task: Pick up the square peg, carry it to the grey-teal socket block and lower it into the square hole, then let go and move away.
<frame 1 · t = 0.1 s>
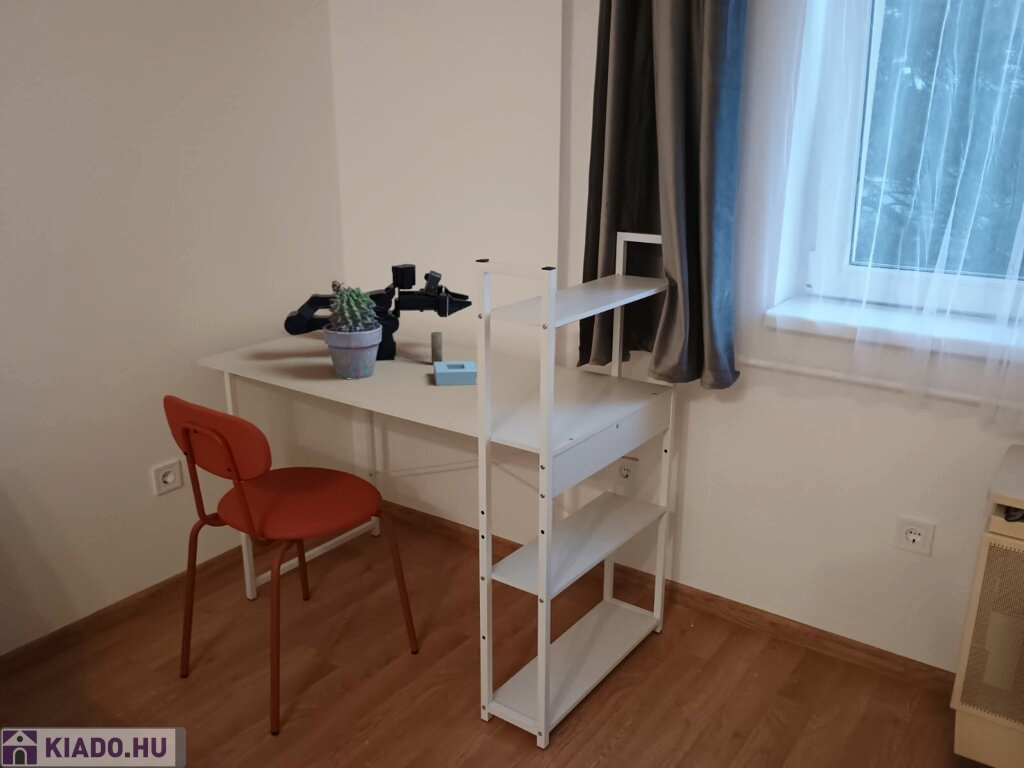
hand: (470, 300, 257), 17 cm above the table, tool horizontal, fingers open, 9 cm apart
skincare box: (347, 340, 279), on the table
socket block: (455, 379, 237), on the table
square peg: (436, 364, 252), on the table
potted plant: (357, 375, 240), on the table
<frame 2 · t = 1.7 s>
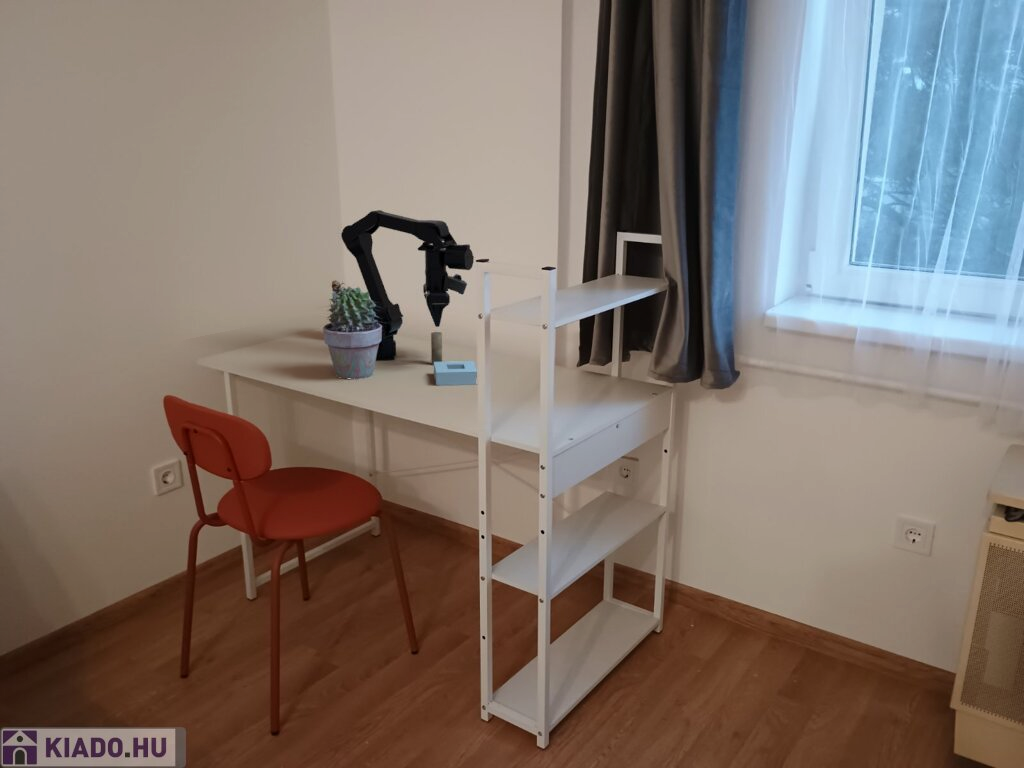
hand: (436, 323, 248), 12 cm above the table, tool pointing down, fingers open, 9 cm apart
nothing on the table moved.
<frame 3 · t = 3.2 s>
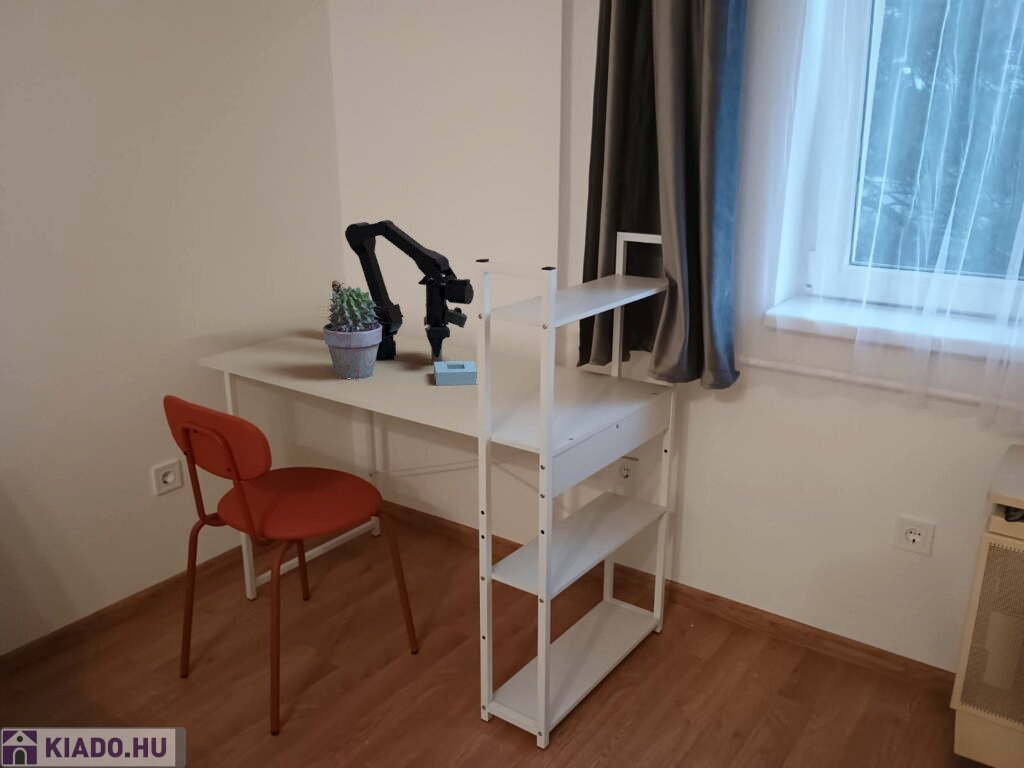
hand: (436, 355, 251), 3 cm above the table, tool pointing down, fingers closed on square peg, 3 cm apart
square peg: (436, 364, 252), on the table, touching gripper
everything else where it was.
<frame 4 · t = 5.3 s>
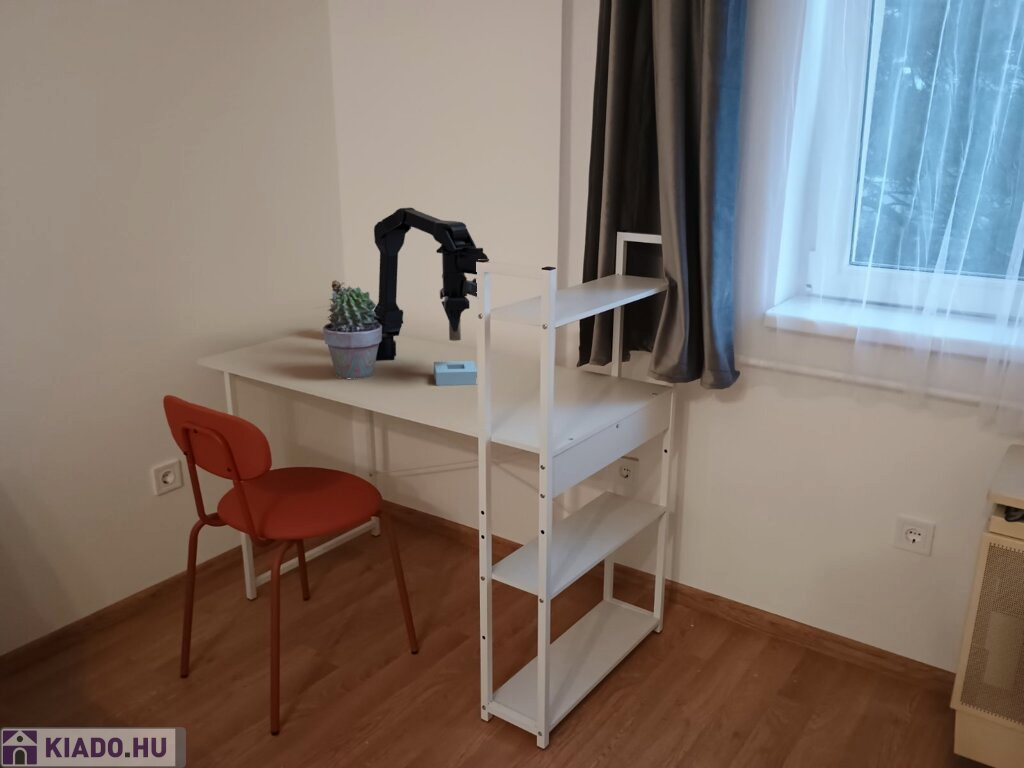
hand: (454, 330, 235), 13 cm above the table, tool pointing down, fingers closed on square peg, 3 cm apart
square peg: (455, 339, 235), point 11 cm above the table, touching gripper
everything else where it was.
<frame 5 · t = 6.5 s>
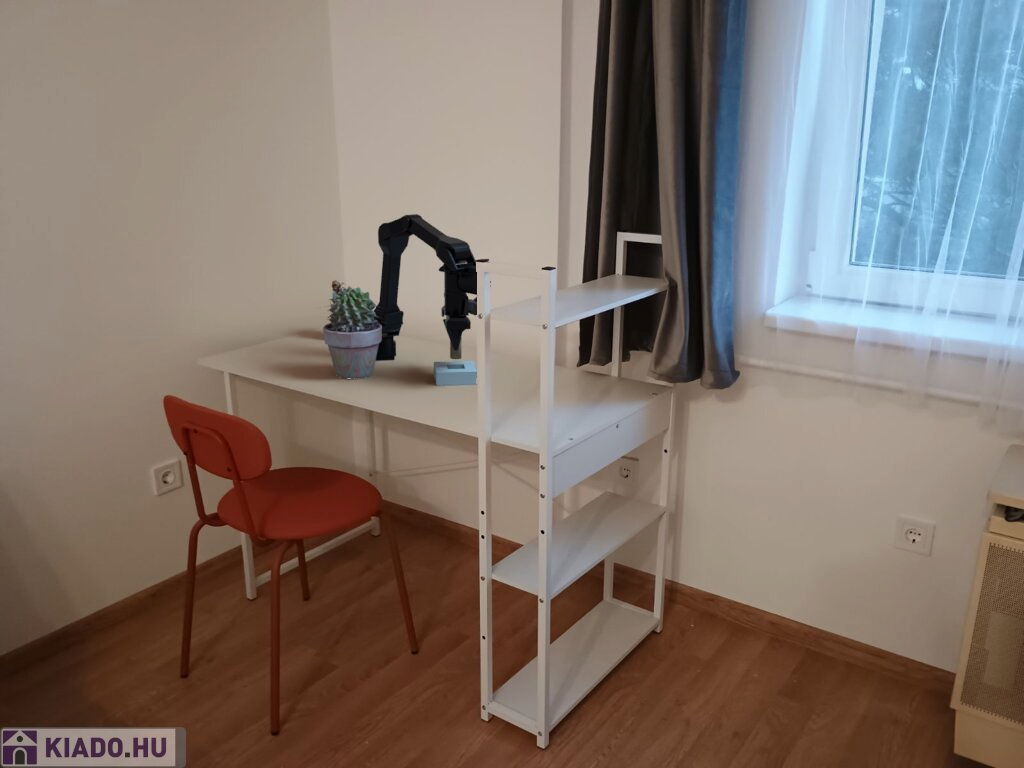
hand: (455, 348, 235), 8 cm above the table, tool pointing down, fingers closed on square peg, 3 cm apart
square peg: (455, 357, 235), point 6 cm above the table, touching gripper
everything else where it was.
when the fingers open (5 cm above the table, at t = 7.5 s): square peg drops 2 cm, resting in socket block.
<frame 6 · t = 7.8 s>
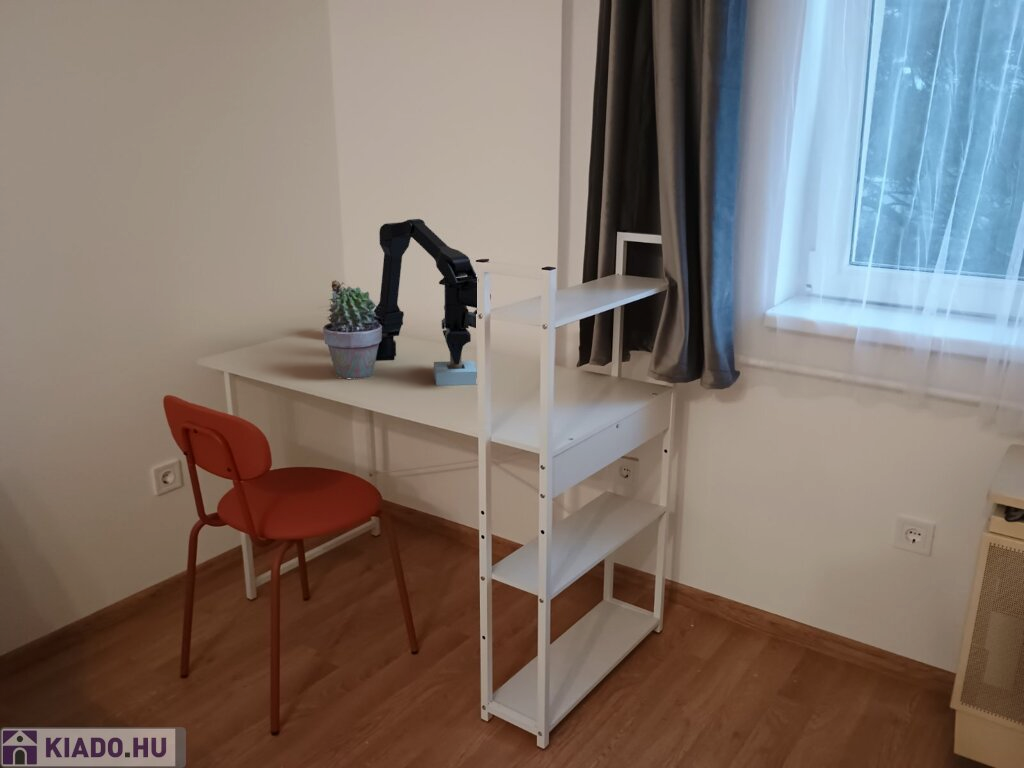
hand: (455, 361, 236), 5 cm above the table, tool pointing down, fingers open, 6 cm apart
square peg: (456, 379, 237), resting in socket block
everything else where it was.
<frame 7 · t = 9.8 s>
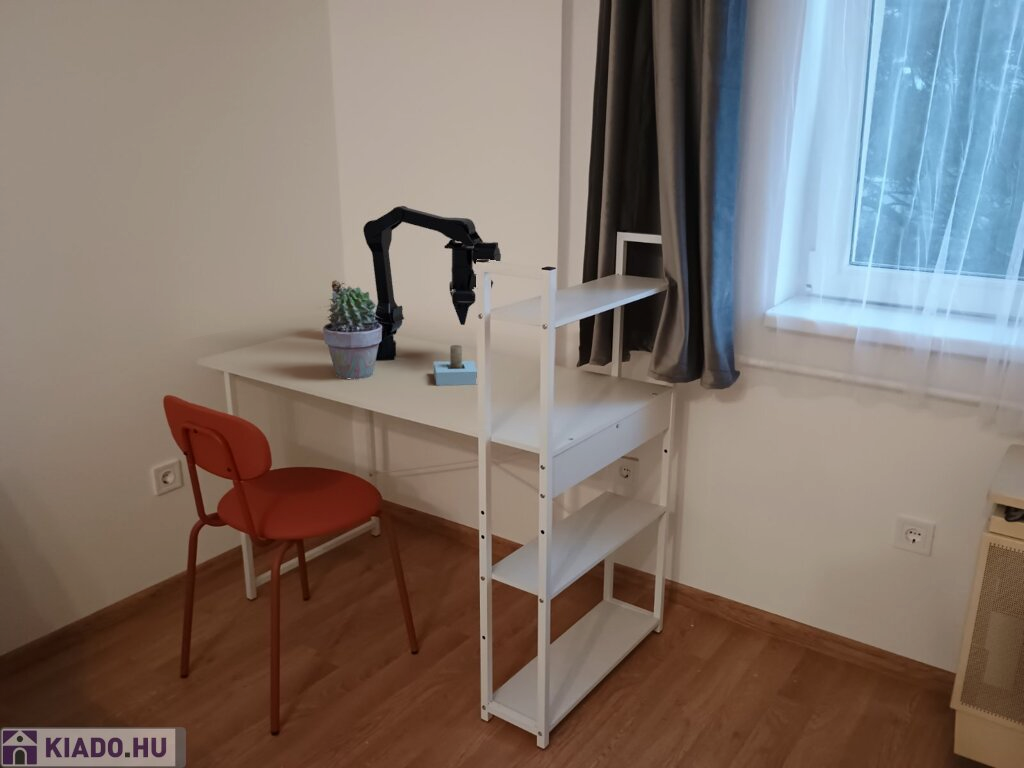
hand: (461, 321, 248), 13 cm above the table, tool pointing down, fingers open, 9 cm apart
nothing on the table moved.
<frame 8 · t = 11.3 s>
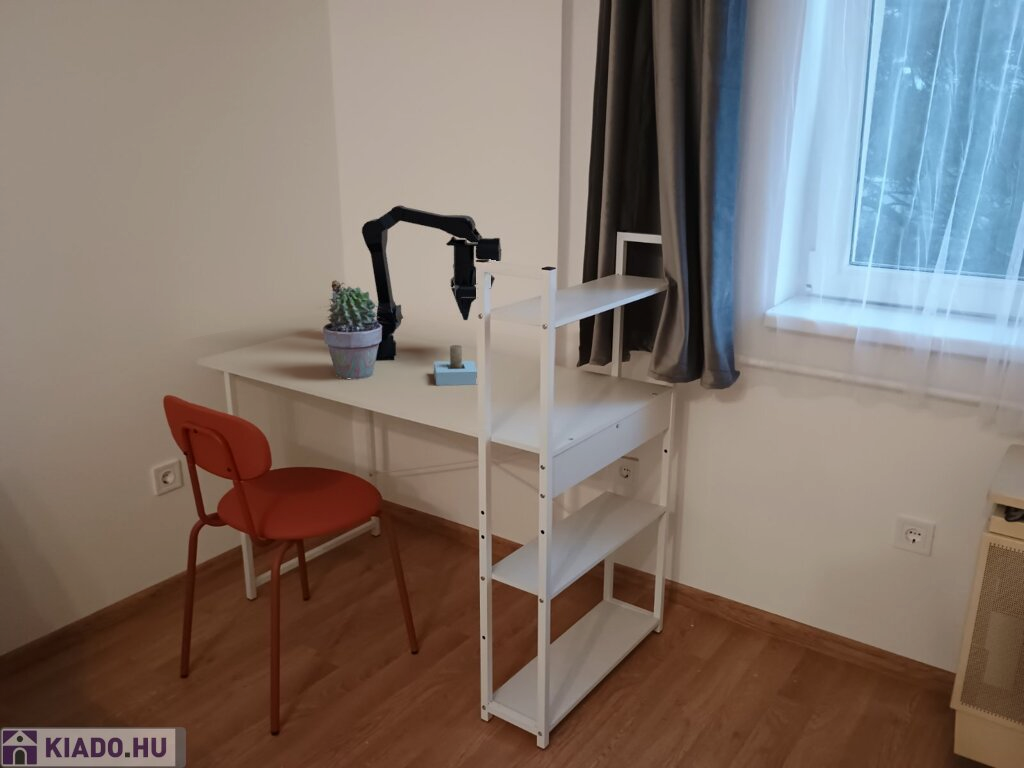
hand: (464, 316, 252), 13 cm above the table, tool pointing down, fingers open, 9 cm apart
nothing on the table moved.
at the end: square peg 0.1 cm off-centre on the socket block, point 0.0 cm above the socket block's base; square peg tilted 0°; the gripper is holding nothing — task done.
